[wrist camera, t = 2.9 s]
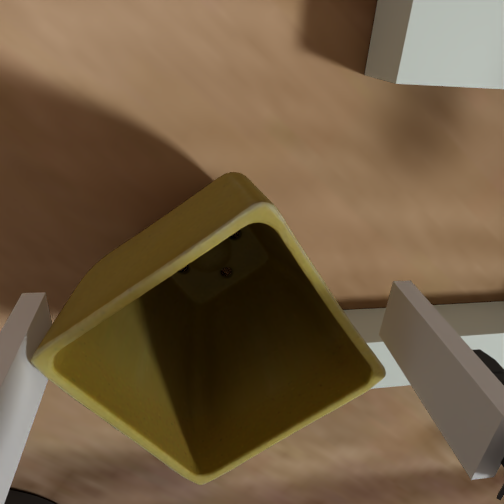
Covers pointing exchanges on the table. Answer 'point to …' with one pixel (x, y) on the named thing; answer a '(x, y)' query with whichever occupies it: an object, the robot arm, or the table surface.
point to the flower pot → (208, 335)
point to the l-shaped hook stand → (438, 74)
